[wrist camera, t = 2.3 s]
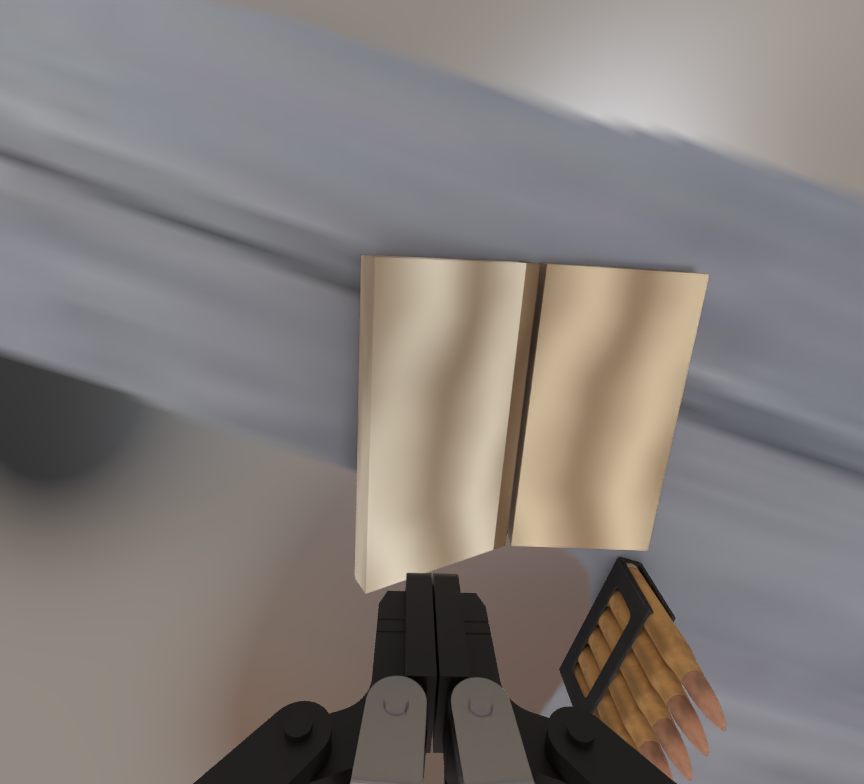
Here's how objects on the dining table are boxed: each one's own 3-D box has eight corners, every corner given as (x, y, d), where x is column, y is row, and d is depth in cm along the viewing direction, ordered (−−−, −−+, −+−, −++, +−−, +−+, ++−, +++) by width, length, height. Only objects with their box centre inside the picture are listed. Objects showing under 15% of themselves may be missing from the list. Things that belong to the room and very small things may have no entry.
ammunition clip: (618, 556, 35) (717, 711, 24) (642, 562, 35) (751, 719, 24) (558, 670, 38) (620, 857, 26) (580, 675, 38) (651, 863, 27)
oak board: (695, 272, 29) (709, 274, 28) (638, 537, 35) (647, 550, 33) (540, 262, 29) (547, 264, 27) (507, 532, 34) (511, 545, 33)
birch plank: (521, 261, 28) (540, 263, 27) (490, 533, 34) (505, 545, 33) (361, 255, 23) (375, 257, 22) (354, 577, 29) (365, 593, 27)
